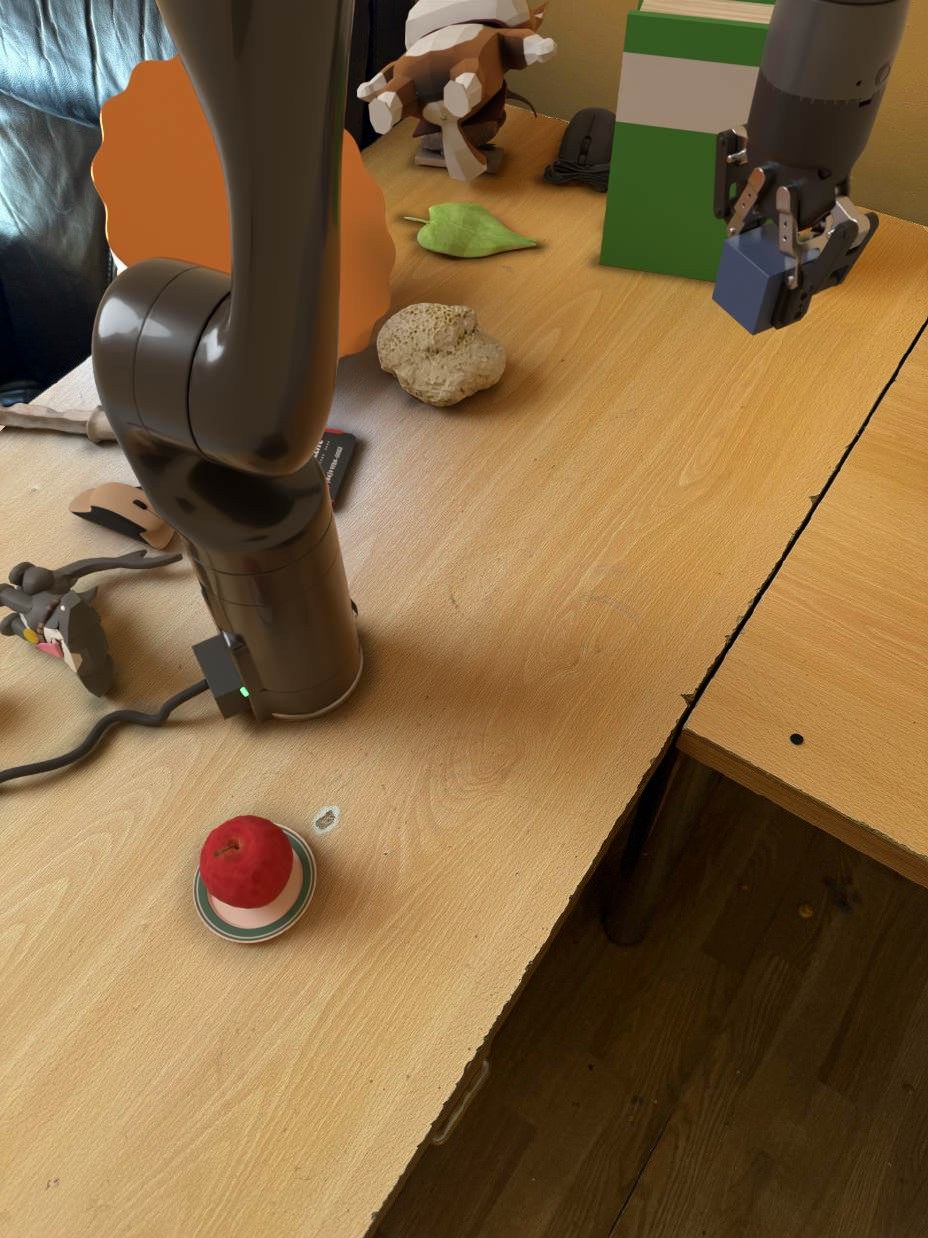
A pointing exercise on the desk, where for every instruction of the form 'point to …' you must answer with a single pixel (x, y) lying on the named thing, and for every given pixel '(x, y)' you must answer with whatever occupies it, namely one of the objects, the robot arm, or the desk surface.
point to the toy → (457, 71)
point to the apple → (253, 879)
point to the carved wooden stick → (59, 420)
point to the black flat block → (335, 458)
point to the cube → (751, 277)
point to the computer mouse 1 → (123, 513)
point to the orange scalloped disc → (218, 195)
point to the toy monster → (68, 613)
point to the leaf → (467, 231)
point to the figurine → (475, 135)
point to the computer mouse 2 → (585, 150)
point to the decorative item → (439, 353)
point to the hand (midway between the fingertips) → (759, 301)
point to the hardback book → (678, 130)
